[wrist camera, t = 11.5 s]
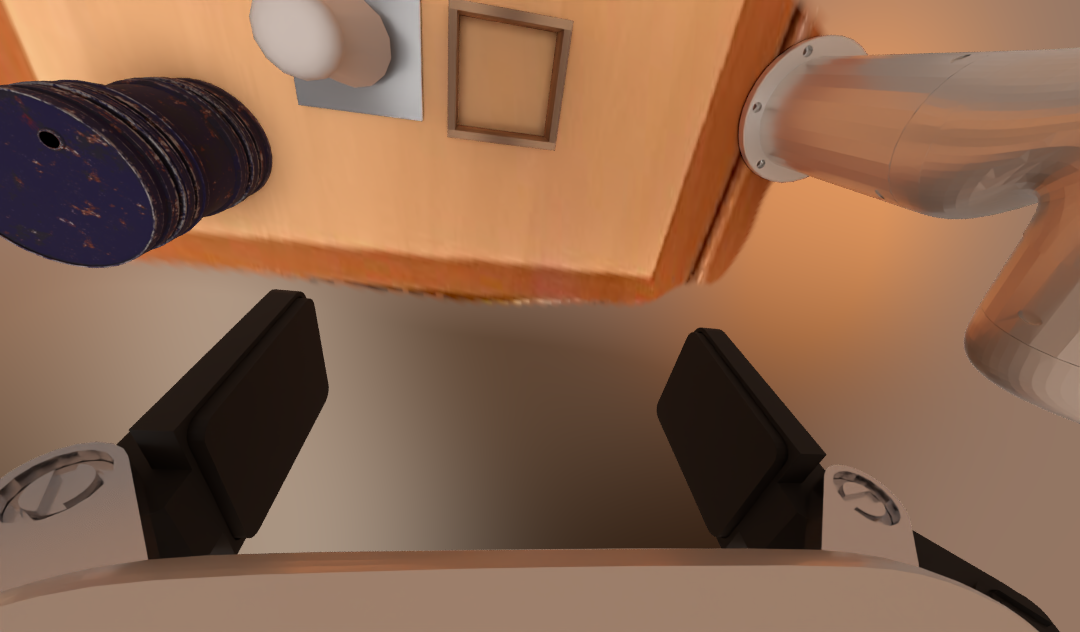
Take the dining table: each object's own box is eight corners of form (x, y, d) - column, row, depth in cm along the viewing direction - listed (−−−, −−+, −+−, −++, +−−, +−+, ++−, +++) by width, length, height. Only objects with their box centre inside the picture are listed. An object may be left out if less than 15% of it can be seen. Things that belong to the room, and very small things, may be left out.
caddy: (565, 24, 32) (573, 20, 29) (549, 143, 37) (554, 150, 34) (452, 3, 30) (448, -3, 28) (450, 131, 35) (447, 137, 32)
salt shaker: (332, -23, 28) (238, -78, 18) (408, 29, 31) (366, 10, 20) (309, 57, 31) (213, 53, 20) (380, 101, 33) (329, 118, 22)
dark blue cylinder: (258, 219, 37) (145, 295, 25) (133, 163, 34) (-73, 219, 21) (286, 122, 33) (169, 155, 21) (148, 46, 30) (-94, 32, 17)
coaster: (420, -26, 29) (418, -27, 29) (423, 120, 35) (422, 121, 34) (274, -54, 28) (271, -56, 27) (301, 104, 33) (298, 104, 32)
